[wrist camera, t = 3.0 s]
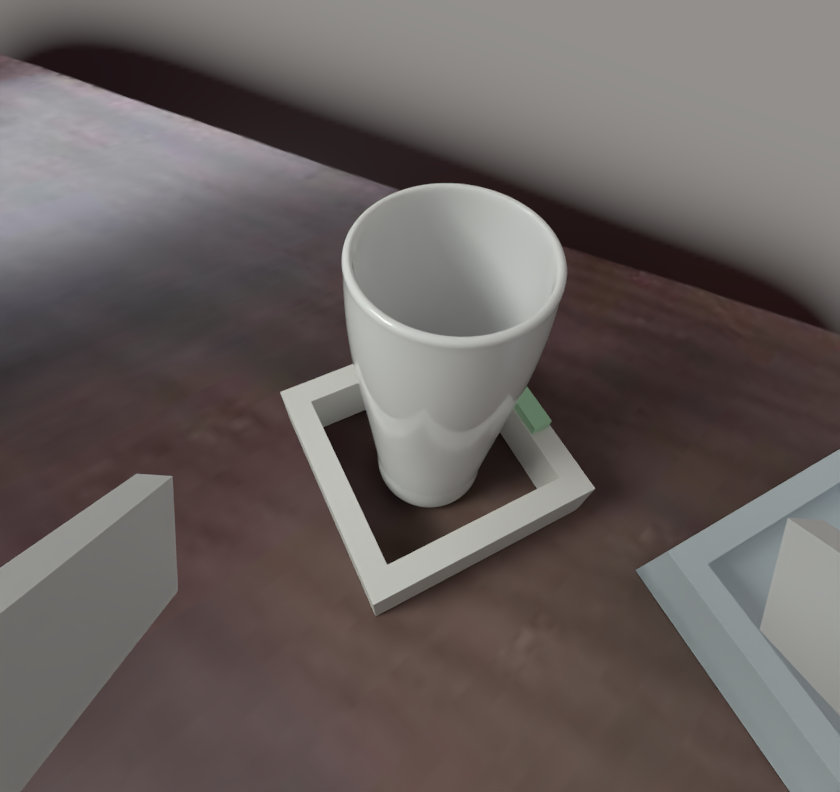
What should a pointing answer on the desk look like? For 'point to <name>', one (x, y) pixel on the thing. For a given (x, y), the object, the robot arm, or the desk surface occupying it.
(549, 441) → the frame
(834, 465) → the tray
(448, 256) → the drinking glass
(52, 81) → the desk surface
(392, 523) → the desk surface
